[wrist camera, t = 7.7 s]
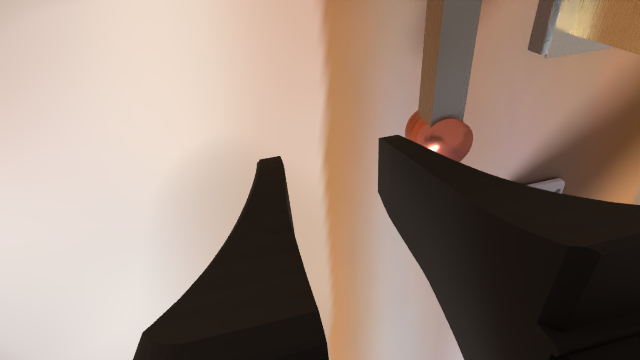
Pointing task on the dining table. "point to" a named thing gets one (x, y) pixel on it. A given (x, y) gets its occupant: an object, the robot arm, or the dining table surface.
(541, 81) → the dining table surface
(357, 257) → the dining table surface
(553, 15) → the press
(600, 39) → the housing
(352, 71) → the dining table surface
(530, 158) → the dining table surface
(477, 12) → the lever
